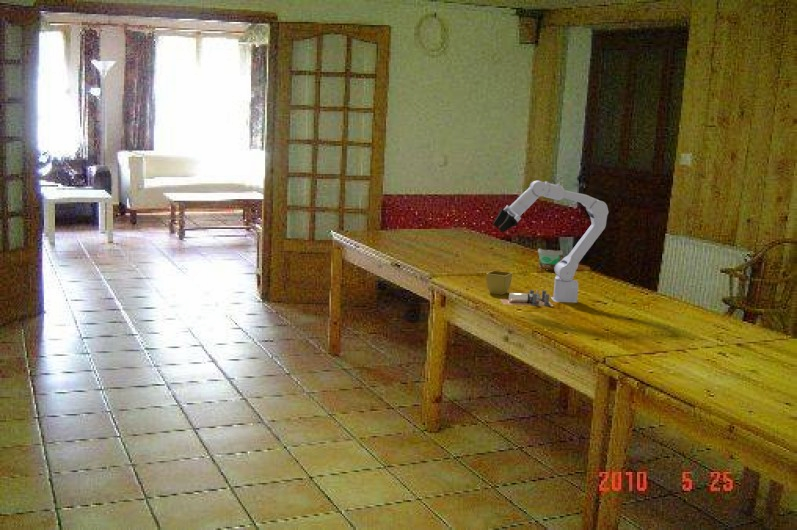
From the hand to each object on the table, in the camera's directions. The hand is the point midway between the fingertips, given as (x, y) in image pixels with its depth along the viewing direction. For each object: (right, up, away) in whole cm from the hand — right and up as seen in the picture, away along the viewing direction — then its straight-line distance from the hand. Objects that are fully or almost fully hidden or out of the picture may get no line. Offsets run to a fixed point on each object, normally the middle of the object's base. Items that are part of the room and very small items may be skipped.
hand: (497, 228), depth 330 cm
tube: (+11, -30, 0) cm, 31 cm away
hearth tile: (+12, -30, 0) cm, 32 cm away
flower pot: (+2, -27, +15) cm, 31 cm away
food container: (+34, -17, +73) cm, 83 cm away
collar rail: (+17, -30, 0) cm, 35 cm away
